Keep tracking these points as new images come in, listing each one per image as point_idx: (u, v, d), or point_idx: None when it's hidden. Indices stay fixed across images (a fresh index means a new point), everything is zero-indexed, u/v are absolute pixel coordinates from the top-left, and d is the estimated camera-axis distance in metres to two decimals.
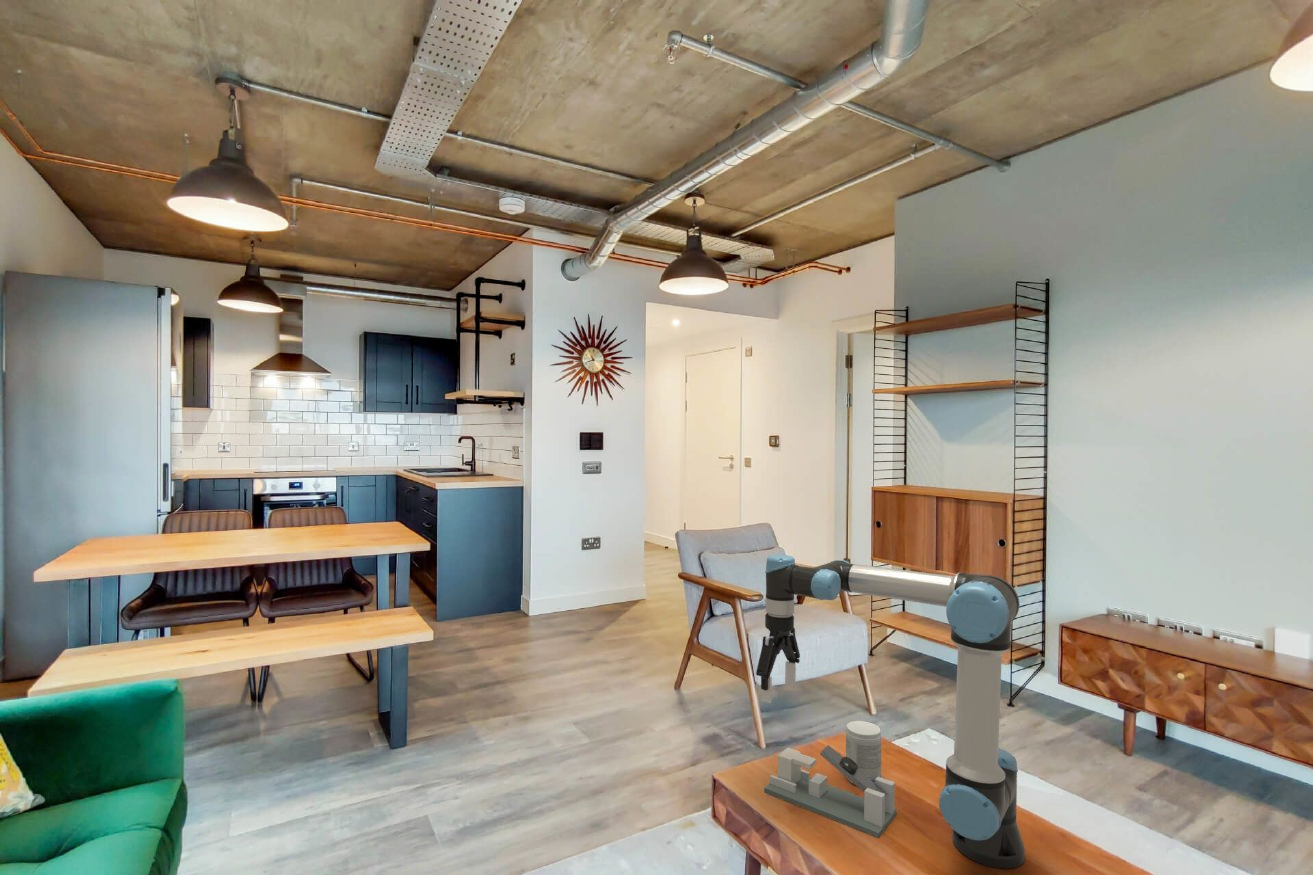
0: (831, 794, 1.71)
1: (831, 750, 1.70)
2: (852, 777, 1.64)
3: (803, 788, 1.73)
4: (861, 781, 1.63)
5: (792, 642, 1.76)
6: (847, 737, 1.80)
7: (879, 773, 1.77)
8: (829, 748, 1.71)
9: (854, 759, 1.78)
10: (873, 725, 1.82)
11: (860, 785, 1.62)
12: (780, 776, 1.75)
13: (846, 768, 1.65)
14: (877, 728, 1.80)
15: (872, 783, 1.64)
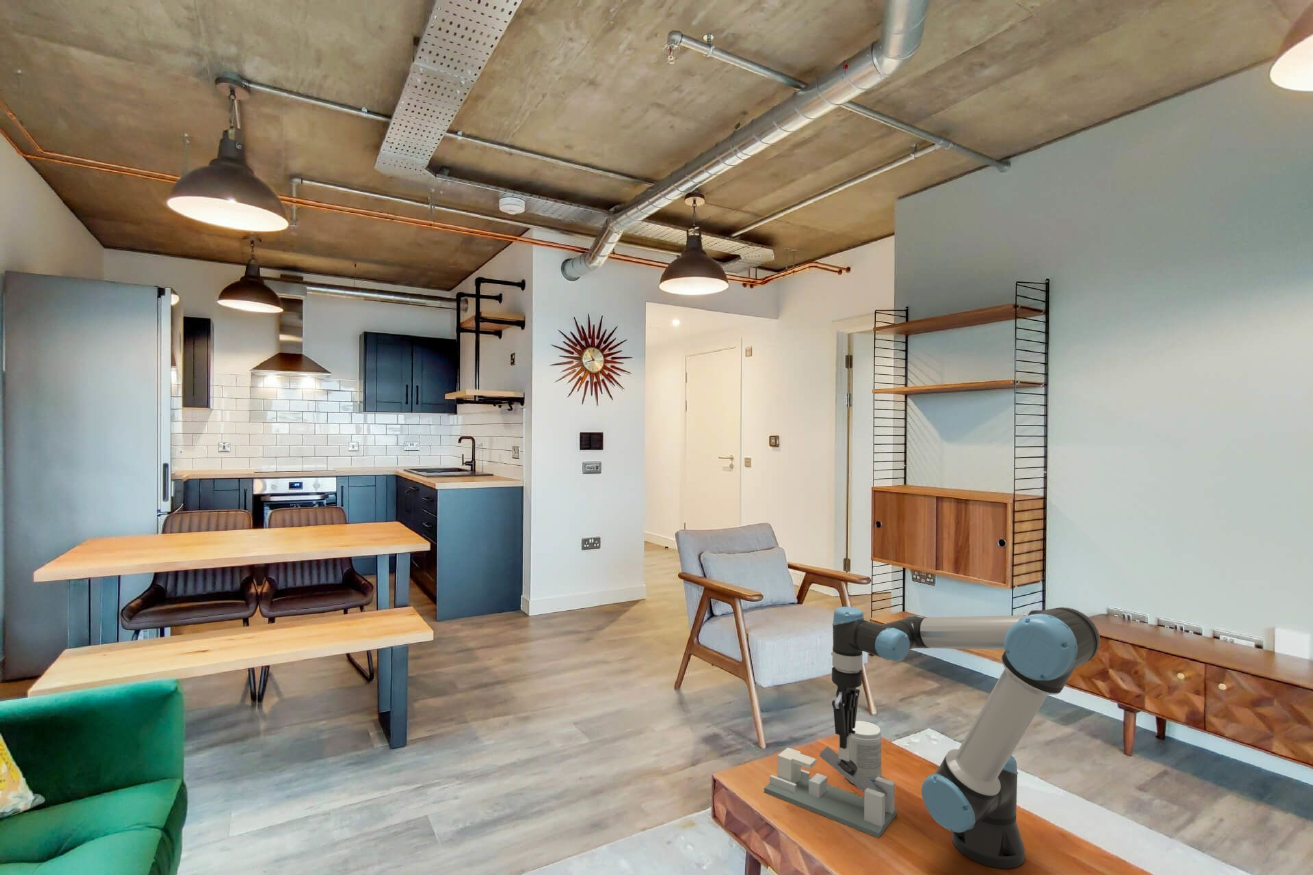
0: (831, 794, 1.71)
1: (830, 751, 1.70)
2: (852, 778, 1.64)
3: (803, 788, 1.73)
4: (861, 781, 1.63)
5: None
6: None
7: (879, 773, 1.77)
8: (828, 749, 1.71)
9: (854, 759, 1.78)
10: (873, 725, 1.82)
11: (860, 785, 1.62)
12: (780, 776, 1.75)
13: (845, 768, 1.65)
14: (877, 728, 1.80)
15: (872, 783, 1.64)
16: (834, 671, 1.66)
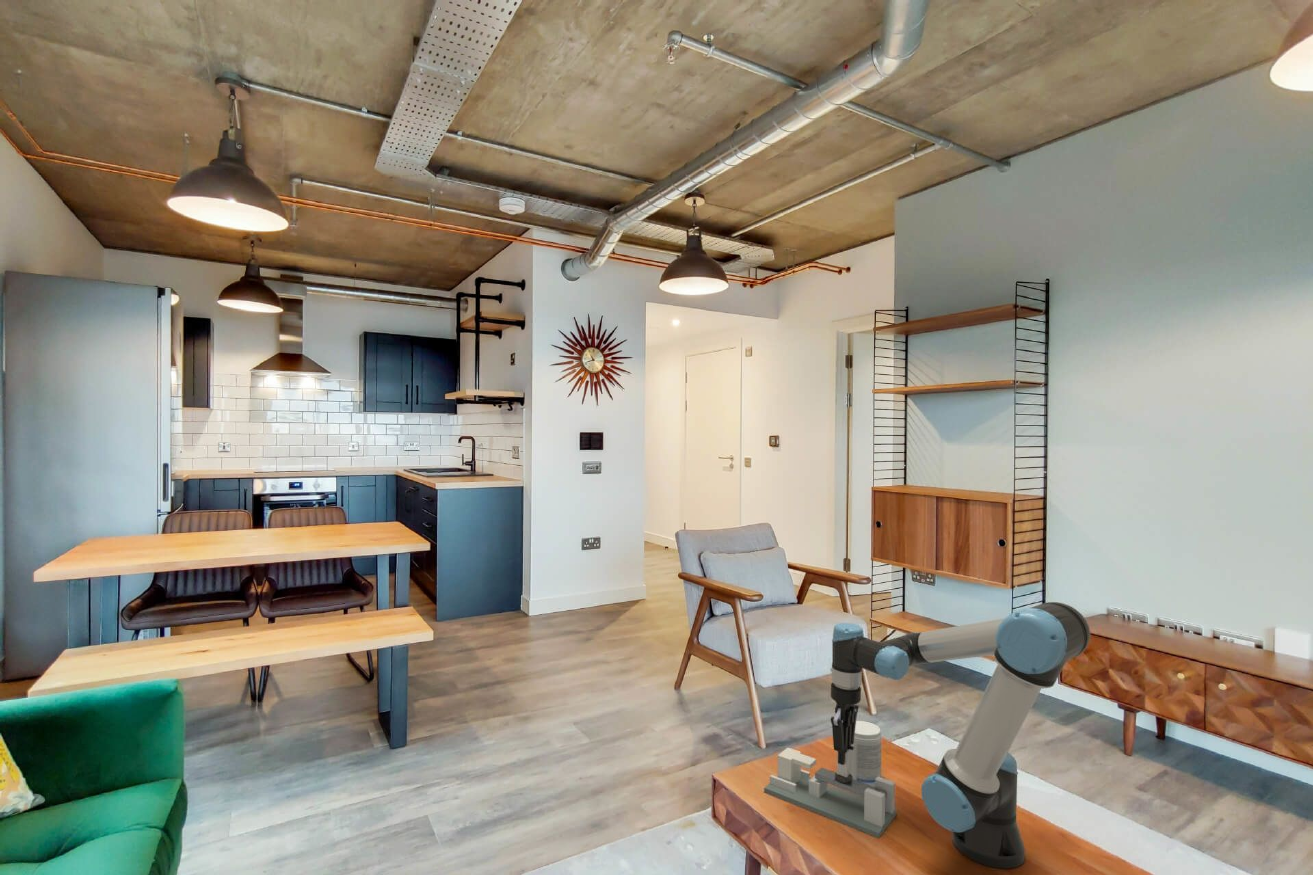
0: (831, 794, 1.71)
1: (825, 770, 1.71)
2: (849, 787, 1.64)
3: (803, 788, 1.73)
4: (858, 788, 1.63)
5: None
6: None
7: (879, 773, 1.77)
8: (823, 769, 1.72)
9: (854, 759, 1.78)
10: (873, 725, 1.82)
11: (858, 792, 1.63)
12: (780, 776, 1.75)
13: (840, 780, 1.65)
14: (877, 728, 1.80)
15: (870, 787, 1.64)
16: (833, 687, 1.66)
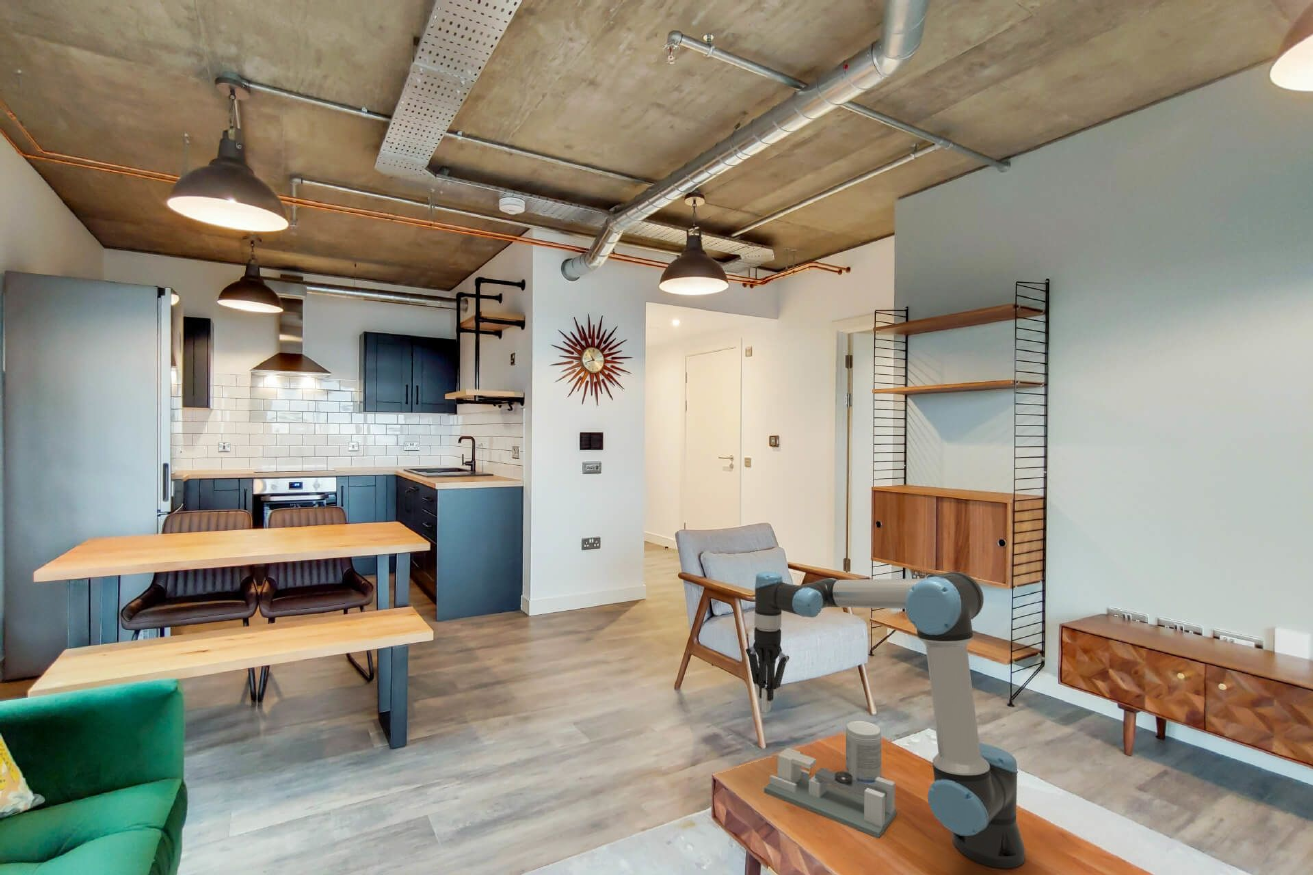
0: (831, 794, 1.71)
1: (825, 770, 1.71)
2: (849, 787, 1.64)
3: (803, 788, 1.73)
4: (858, 788, 1.63)
5: None
6: (847, 737, 1.80)
7: (879, 773, 1.77)
8: (823, 769, 1.72)
9: (854, 759, 1.78)
10: (873, 725, 1.82)
11: (858, 792, 1.63)
12: (780, 776, 1.75)
13: (840, 780, 1.65)
14: (877, 728, 1.80)
15: (870, 787, 1.64)
16: None
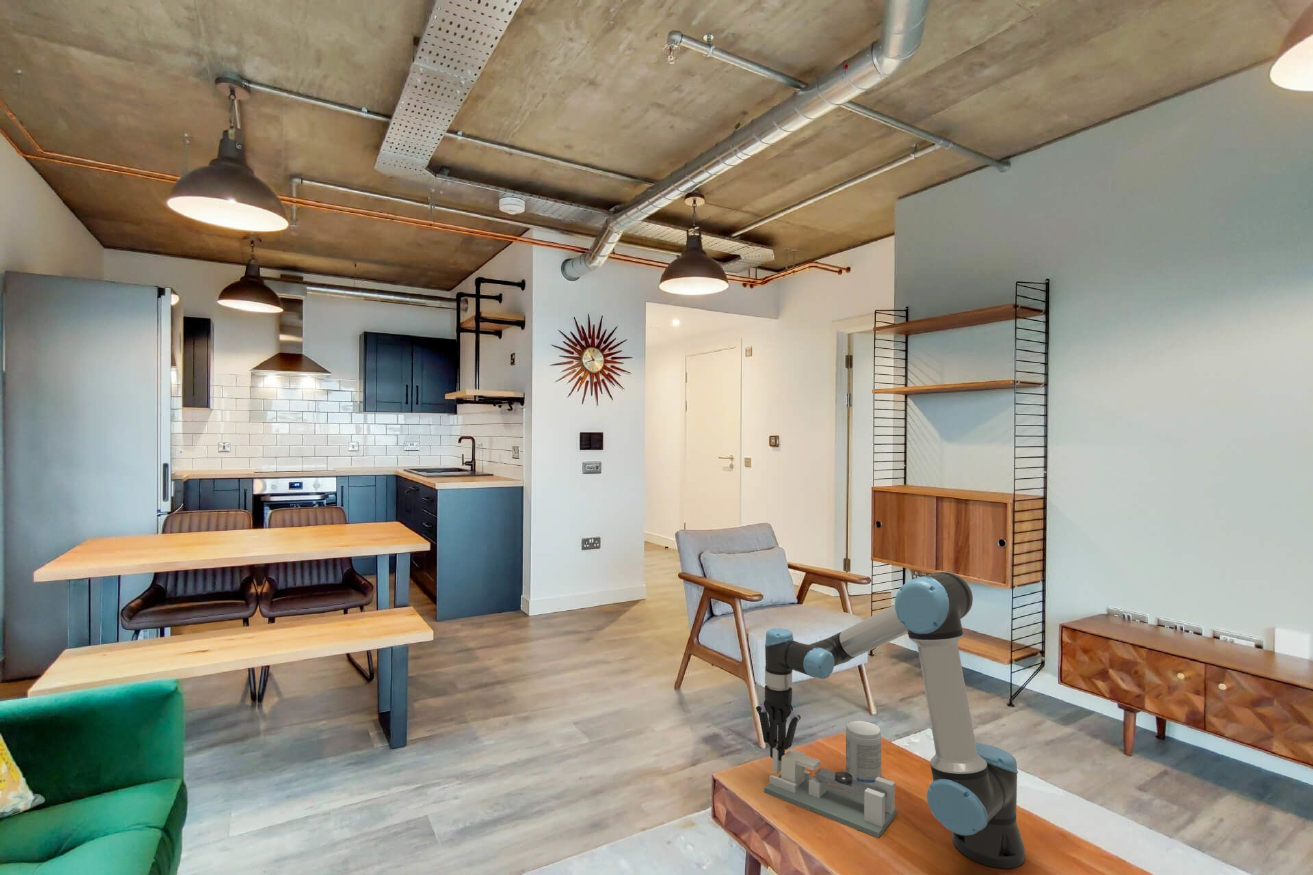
0: (831, 794, 1.71)
1: (825, 770, 1.71)
2: (849, 787, 1.64)
3: (803, 788, 1.73)
4: (858, 788, 1.63)
5: None
6: (847, 737, 1.80)
7: (879, 773, 1.77)
8: (823, 769, 1.72)
9: (854, 759, 1.78)
10: (873, 725, 1.82)
11: (858, 792, 1.63)
12: (784, 777, 1.74)
13: (840, 780, 1.65)
14: (877, 728, 1.80)
15: (870, 787, 1.64)
16: None
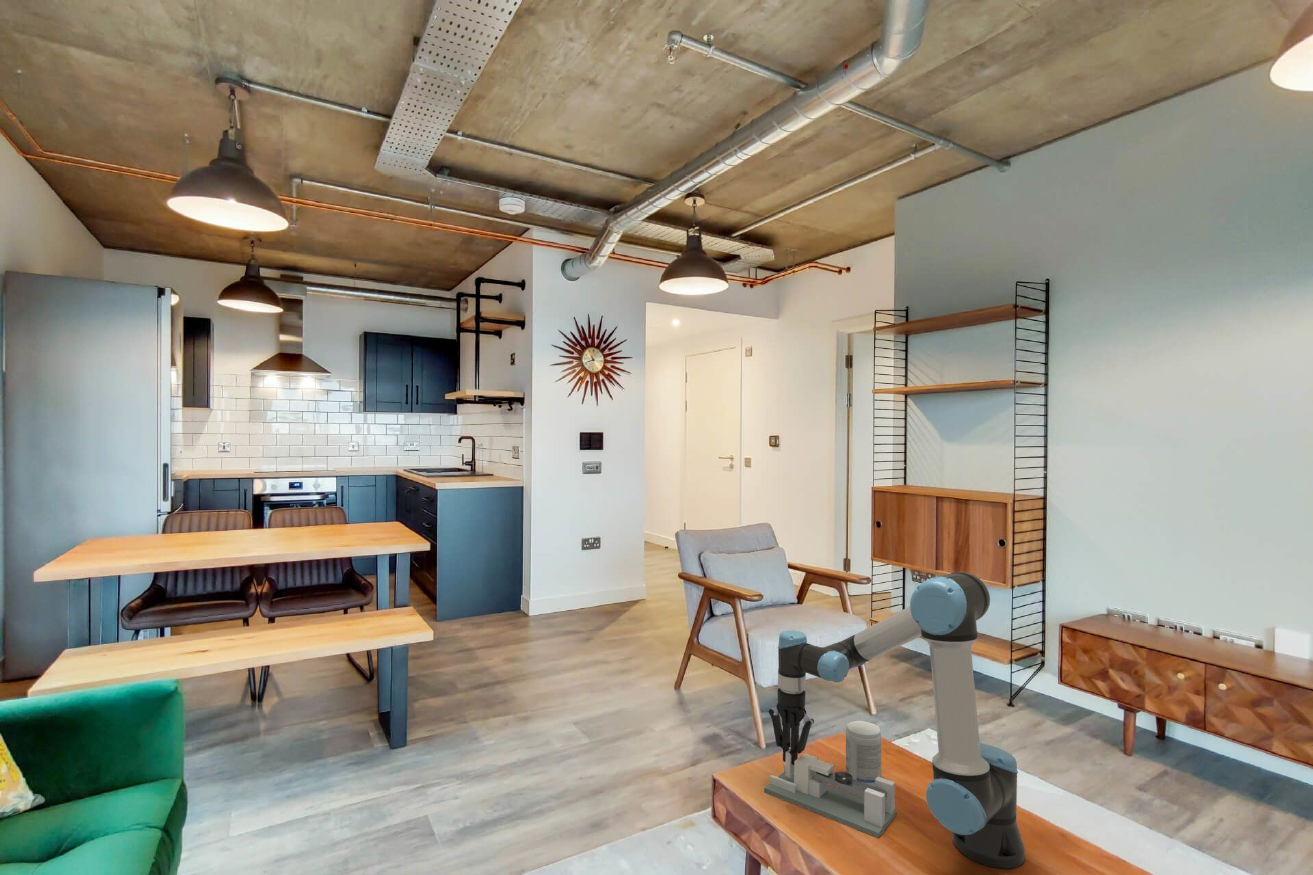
0: (831, 794, 1.71)
1: None
2: (849, 787, 1.64)
3: None
4: (858, 788, 1.63)
5: None
6: (847, 737, 1.80)
7: (879, 773, 1.77)
8: None
9: (854, 759, 1.78)
10: (873, 725, 1.82)
11: (858, 792, 1.63)
12: (797, 782, 1.72)
13: (840, 780, 1.65)
14: (877, 728, 1.80)
15: (870, 787, 1.64)
16: None
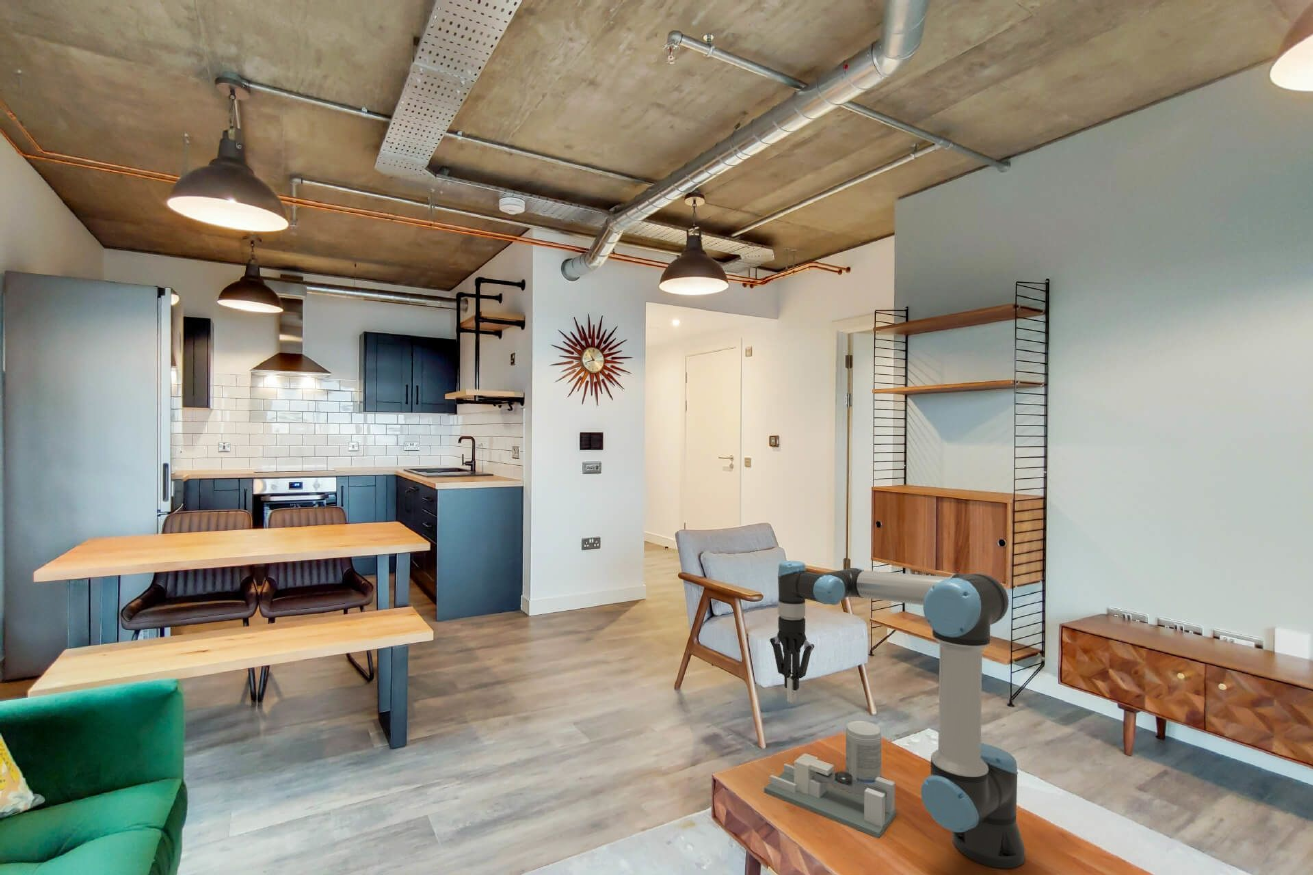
0: (831, 794, 1.71)
1: None
2: (849, 787, 1.64)
3: None
4: (858, 788, 1.63)
5: None
6: (847, 737, 1.80)
7: (879, 773, 1.77)
8: None
9: (854, 759, 1.78)
10: (873, 725, 1.82)
11: (858, 792, 1.63)
12: (797, 782, 1.72)
13: (840, 780, 1.65)
14: (877, 728, 1.80)
15: (870, 787, 1.64)
16: None
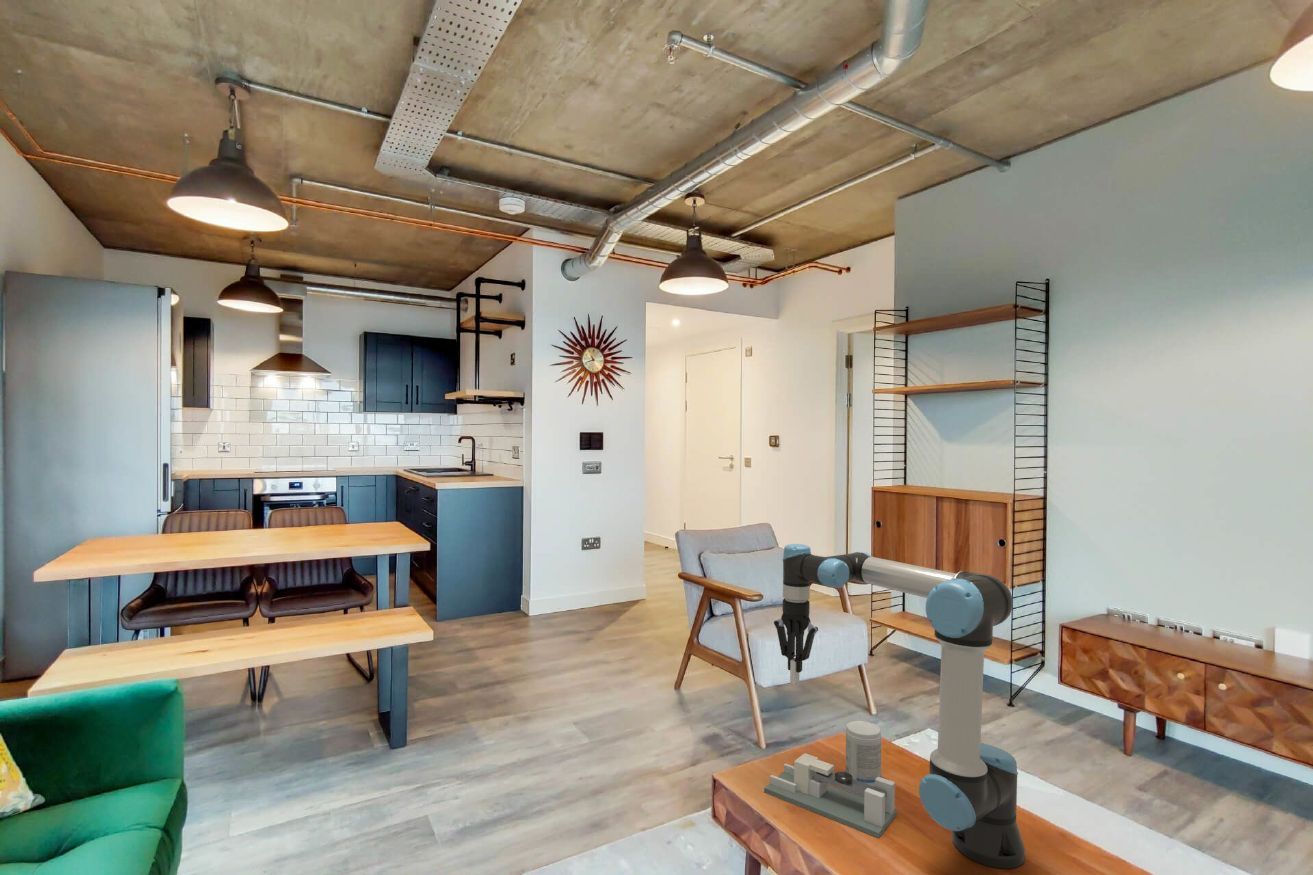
0: (831, 794, 1.71)
1: None
2: (849, 787, 1.64)
3: None
4: (858, 788, 1.63)
5: None
6: (847, 737, 1.80)
7: (879, 773, 1.77)
8: None
9: (854, 759, 1.78)
10: (873, 725, 1.82)
11: (858, 792, 1.63)
12: (797, 782, 1.72)
13: (840, 780, 1.65)
14: (877, 728, 1.80)
15: (870, 787, 1.64)
16: None
